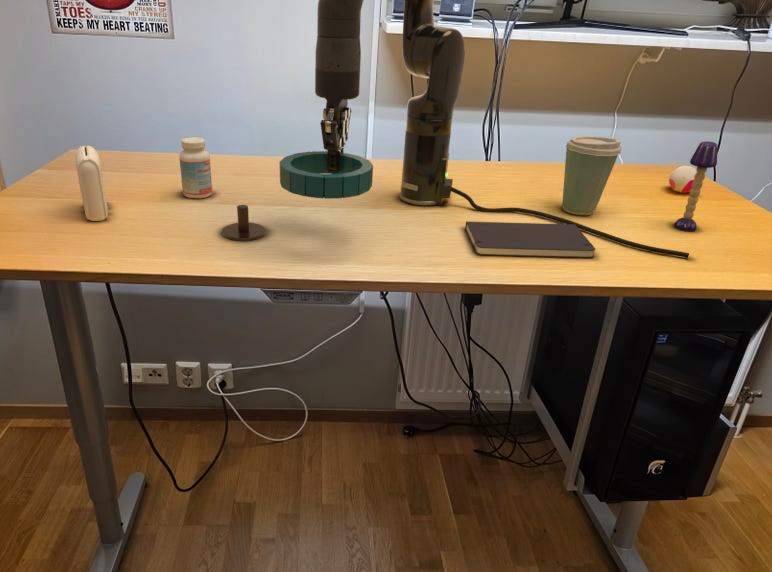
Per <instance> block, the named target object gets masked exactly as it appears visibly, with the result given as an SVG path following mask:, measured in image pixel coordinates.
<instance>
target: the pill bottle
mask: <svg viewBox="0 0 772 572" xmlns="http://www.w3.org/2000/svg"><path fill="white" fill-rule="evenodd" d="M181 147H182V149H183V150H181V152H180V153H179V158H178V159H179V167H180V177H181V179H180V180H181V186H182V195H184V197H186V198H189V199H205V198H208V197H211V196H212V194H213V182H212V179H213V178H212V169H211V168H212V167H211V156H210V153H209V152H208V151H207V150H205V149H206V140H205V138H202V137H195V136H194V137H193V136H191V137H185V138H182V139H181Z"/></svg>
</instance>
